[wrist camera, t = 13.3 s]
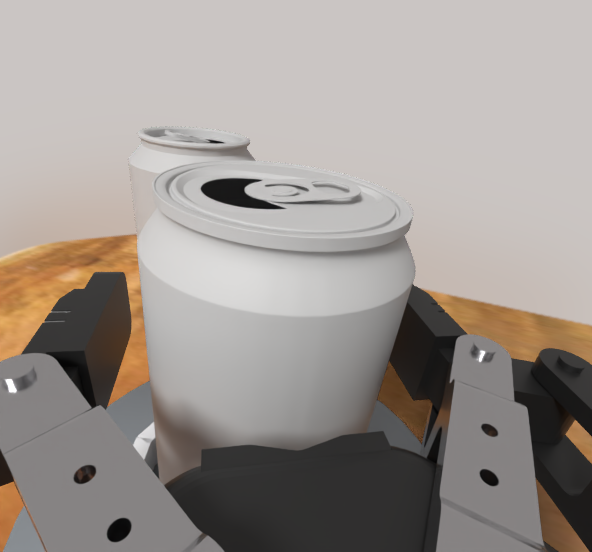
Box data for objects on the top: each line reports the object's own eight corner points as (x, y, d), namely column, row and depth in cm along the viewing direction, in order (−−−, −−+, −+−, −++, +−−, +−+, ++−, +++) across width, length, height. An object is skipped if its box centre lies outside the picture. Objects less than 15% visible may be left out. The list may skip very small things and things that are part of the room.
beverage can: (164, 442, 15) (139, 146, 10) (307, 417, 17) (354, 160, 12) (162, 639, 10) (104, 243, 4) (368, 571, 12) (507, 237, 6)
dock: (483, 458, 18) (502, 422, 16) (396, 1380, 5) (453, 1518, 4) (221, 335, 24) (221, 303, 23) (-119, 598, 11) (-159, 556, 10)
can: (270, 320, 26) (285, 143, 20) (162, 351, 22) (143, 142, 16) (227, 274, 31) (229, 124, 25) (133, 292, 27) (111, 119, 22)
